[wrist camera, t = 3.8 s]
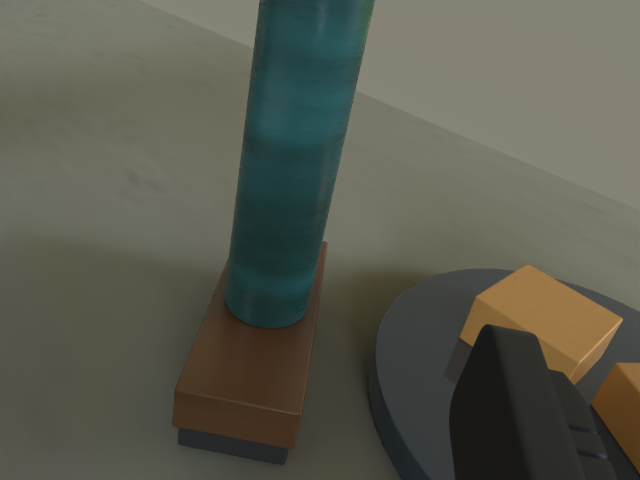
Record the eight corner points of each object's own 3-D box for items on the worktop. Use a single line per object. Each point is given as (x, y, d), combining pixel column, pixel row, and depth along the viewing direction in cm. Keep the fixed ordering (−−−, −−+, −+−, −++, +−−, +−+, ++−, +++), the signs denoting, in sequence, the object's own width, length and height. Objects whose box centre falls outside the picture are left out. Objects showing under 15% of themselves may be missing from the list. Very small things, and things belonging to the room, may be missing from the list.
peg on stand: (288, 473, 17) (432, -122, 9) (169, 450, 17) (213, -170, 9) (316, 290, 25) (409, -119, 17) (235, 274, 25) (290, -145, 17)
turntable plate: (300, 314, 23) (305, 290, 23) (567, 272, 30) (577, 253, 29) (578, 770, 12) (602, 749, 12) (901, 545, 19) (928, 523, 18)
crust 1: (458, 337, 22) (475, 295, 21) (509, 301, 25) (527, 262, 23) (555, 405, 20) (579, 363, 19) (600, 358, 22) (624, 318, 21)
